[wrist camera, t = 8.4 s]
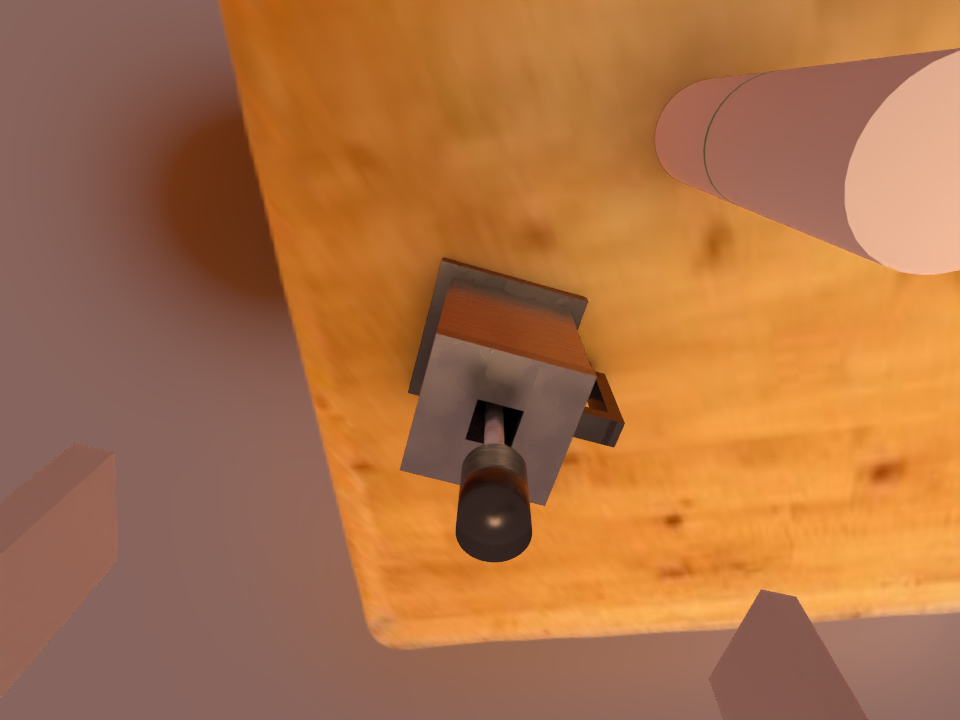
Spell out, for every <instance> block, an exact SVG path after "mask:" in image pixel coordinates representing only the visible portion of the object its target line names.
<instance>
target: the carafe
mask: <svg viewBox="0 0 960 720" xmlns="http://www.w3.org/2000/svg"><path fill="white" fill-rule="evenodd" d="M587 303H588V301H587V298H585V297H582V296H578V295H574V294H571V293H567V292H564V291H560V290H557V289H553V288H549V287H546V286H542V285H539V284H535V283H532V282H528V281H525V280H521V279H517V278H514V277H510V276H507V275H503V274H500V273H496V272H493V271H489V270H485V269H482V268H478V267H475V266H471V265H468V264H464V263H460V262H457V261H453V260H450V259H446V258H443V259H442V263H441V267H440V270H439V274H438V278H437V282H436V286H435V290H434V294H433V298H432V301H431V305H430V309H429V313H428V317H427V321H426V325H425V329H424V332H423V336H422V340H421V344H420V348H419V352H418V356H417V360H416V364H415V367H414V371H413V375H412V379H411V383H410V387H409V391H408V393H411V394H414V395H418V396H419V399H418V403H417V406H416V410H415V414H414V418H413V422H412V426H411V429H410V433H409V437H408V441H407V445H406V448H405V452H404V456H403V460H402V464H401V467H400V470H401V471H405V472H409V473H413V474H417V475H421V476H425V477H429V478H434V479H438V480H442V481H446V482H450V483H454V484H458V485H460V480H461V469H462V463H463V461H464V459H465V457H466V456H467V455H468V454H469V453H470V452H471V451H472V450H473V449H475V448H477V447H479V446H481V445H484V431H485V402H486V401H487V402H490V403H494V404H498V405H502V406H503V416H504V445H507V446H509V447H511V448H513V449H515V450H516V451H517V452H518V453H519V454H520V455H521V456H522V457H523V459H524V461H525V463H526V468H527V478H528V490H529V501H530V502H531V503H535V504H539V505H543V506H545V505H546V502H547V500H548V497H549V495H550V492H551V490H552V487H553V485H554V482H555V480H556V477H557V475H558V472H559V470H560V467H561V465H562V462H563V460H564V457H565V455H566V452H567V450H568V447H569V445H570V443H571V440H572V438H573V437H576V438H580V439H583V440H587V441H591V442H595V443H599V444H603V445H607V446H611V447H615V445H616V442H617V440H618V438H619V435H620V433H621V431H622V429H623V426H624V424H625V423H624V420H623V418H622V415H621V413H620V411H619V408H618V406H617V403H616V401H615V398H614V396H613V393H612V391H611V388H610V386H609V384H608V381H607V379H606V376H605V374H603V373H600V372H596V371H595V370H593V369H591V366H590V364H589V361H588V358H587V355H586V353H585V350H584V347H583V344H582V342H581V339H580V336H579V334H578V331H577V330H578V327H579V324H580V322H581V319H582V316H583V314H584V311H585V308H586V306H587ZM587 402H588V405H589V408H588V407H585V405H586V403H587Z"/></svg>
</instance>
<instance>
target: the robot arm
mask: <svg viewBox="0 0 960 720" xmlns="http://www.w3.org/2000/svg"><path fill="white" fill-rule="evenodd" d="M114 455H115V453H114V452H112V451H107V450H102V449H97V448H93V447H88V446H83V445H79V444H73V445H71V446H70V447H69V448H68V449H67V450H65V451H64V452H62V453H61V454H60V455H59V456H57V457H56V458H55V459H54V460H52V461H51V462H50V463H49V464H47V465H46V466H45V467H44V468H42V469H41V470H40V471H39V472H37V473H36V474H35V475H34V476H32V477H31V478H30V479H29V480H27V481H26V482H25V483H23V484H22V485H21V486H20V487H18V488H17V489H16V490H15V491H13V492H12V493H11V494H10V495H8V496H7V497H6V498H5V499H3V500H2V501H1V502H0V699H1V697H2V696H3V695H4V694H5V693H6V691H7V690H8V689H9V688H10V687H11V686H12V684H13V683H14V682H15V681H16V679H17V678H18V677H19V676H20V675H21V674H22V673H23V671H24V670H25V669H26V668H27V667H28V665H29V664H30V663H31V662H32V661H33V659H34V658H35V657H36V656H37V655H38V654H39V652H40V651H41V650H42V649H43V647H44V646H45V645H46V644H47V643H48V642H49V641H50V639H51V638H52V637H53V636H54V635H55V633H56V632H57V631H58V630H59V629H60V628H61V626H62V625H63V624H64V623H65V621H66V620H67V619H68V618H69V617H70V615H71V614H72V613H73V612H74V611H75V610H76V609H77V607H78V606H79V605H80V604H81V603H82V601H83V600H84V599H85V598H86V597H87V595H88V594H89V593H90V592H91V591H92V590H93V588H94V587H95V586H96V585H97V584H98V582H99V581H100V580H101V579H102V578H103V577H104V575H105V574H106V573H107V572H108V571H109V569H110V568H111V567H112V566H113V565H114V564H115V562H116V561H117V560H118V545H117V514H116V486H115V485H116V484H115V456H114ZM709 681H710V683H711V686H712V689H713V692H714V695H715V697H716V700H717V703H718V706H719V709H720V711H721V714H722V717H723V720H868V718H867V716H866V715H865V713H864V711H863V710H862V708H861V706H860V704H859V703H858V701H857V699H856V698H855V696H854V694H853V692H852V691H851V689H850V687H849V686H848V684H847V682H846V681H845V679H844V677H843V676H842V674H841V672H840V671H839V669H838V667H837V665H836V664H835V662H834V660H833V659H832V657H831V655H830V654H829V652H828V650H827V648H826V647H825V645H824V643H823V642H822V640H821V639H820V637H819V635H818V633H817V632H816V630H815V628H814V626H813V625H812V623H811V621H810V620H809V618H808V616H807V614H806V613H805V611H804V609H803V608H802V606H801V604H800V603H799V601H798V599H797V598H796V597H794V596H789V595H785V594H780V593H775V592H770V591H766V590H761V591H760V592H759V594H758V596H757V597H756V599H755V601H754V602H753V604H752V606H751V608H750V609H749V611H748V613H747V614H746V616H745V618H744V619H743V621H742V623H741V625H740V626H739V628H738V630H737V631H736V633H735V635H734V636H733V638H732V640H731V642H730V643H729V645H728V647H727V649H726V650H725V652H724V653H723V655H722V657H721V659H720V660H719V662H718V664H717V665H716V667H715V669H714V671H713V672H712V674H711V676H710V677H709Z"/></svg>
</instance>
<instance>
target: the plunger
mask: <svg viewBox="0 0 960 720" xmlns="http://www.w3.org/2000/svg"><path fill="white" fill-rule="evenodd" d="M456 537H457V541H458V543H459V545H460V546H461V548H462V549H463V550H464V551H465V552H466V553H467V554H469V555H470V556H472V557H474V558H476V559H478V560H482V561H486V562H503V561H507V560H510V559H513V558H515V557H517V556H518V555H520V554H521V553H522V552H523V551H524V550H525V549H526V548H527V547H528V545H529V543H530V541H531V537H532V524H531V513H530V501H529V490H528V478H527V468H526V463H525V461H524V459H523V457H522V456H521V455H520V454H519V453H518V452H517V451H516V450H515V449H513V448H511V447H509V446H507V445H504V416H503V406H502V405H498V404H494V403H490V402H487V401H486V402H485V431H484V445H481V446H479V447H477V448H475V449H473V450H472V451H471V452H470V453H469V454H468V455H467V456H466V457H465V459H464V461H463V463H462V469H461V480H460V490H459V501H458V512H457V522H456Z"/></svg>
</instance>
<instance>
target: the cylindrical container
mask: <svg viewBox="0 0 960 720" xmlns="http://www.w3.org/2000/svg"><path fill="white" fill-rule="evenodd" d="M655 148H656V153H657V156H658V159H659V161H660V163H661V165H662V167H663V168H664V169H665V171H666V172H667V173H668V174H669V175H670V176H672V177H673V178H675V179H676V180H678V181H680V182H682V183H685V184H687V185H690V186H692V187H694V188H697V189H699V190H702V191H704V192H706V193H709V194H711V195H714V196H716V197H718V198H721V199H723V200H726V201H728V202H731V203H733V204H736V205H738V206H740V207H743V208H745V209H748V210H750V211H752V212H755V213H757V214H760V215H762V216H765V217H767V218H769V219H772V220H774V221H777V222H779V223H782V224H784V225H787V226H789V227H791V228H794V229H796V230H799V231H801V232H804V233H806V234H808V235H811V236H813V237H816V238H818V239H821V240H823V241H825V242H828V243H830V244H833V245H835V246H838V247H840V248H843V249H845V250H847V251H850V252H852V253H855V254H857V255H860V256H862V257H864V258H867V259H869V260H872V261H874V262H877V263H879V264H882V265H884V266H887V267H889V268H892V269H894V270H897V271H900V272H904V273H911V274H917V275H929V274H942V273H947V272H952V271H957V270H960V48H957V49H949V50H941V51H933V52H925V53H917V54H909V55H901V56H893V57H885V58H877V59H869V60H861V61H853V62H845V63H836V64H828V65H820V66H812V67H804V68H796V69H788V70H780V71H771V72H763V73H755V74H747V75H739V76H731V77H723V78H715V79H707V80H702V81H698V82H695V83H693V84H691V85H689V86H687V87H685V88H684V89H682V90H681V91H679V92H678V93H677V94H676V95H675V96H674V97H673V98H672V99H671V100H670V101H669V102H668V104H667V105H666V107H665V108H664V110H663V111H662V113H661V116H660V118H659V120H658V123H657V127H656V132H655Z"/></svg>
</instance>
